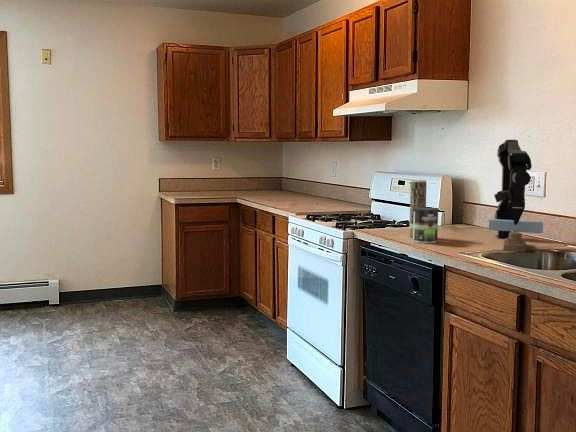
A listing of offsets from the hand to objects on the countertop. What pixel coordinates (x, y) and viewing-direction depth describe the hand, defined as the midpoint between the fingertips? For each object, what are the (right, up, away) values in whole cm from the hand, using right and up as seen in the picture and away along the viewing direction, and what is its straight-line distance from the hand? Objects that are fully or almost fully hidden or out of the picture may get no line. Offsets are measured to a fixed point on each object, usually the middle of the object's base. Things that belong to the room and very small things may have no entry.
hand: (515, 223), depth 251 cm
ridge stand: (0, -10, +1) cm, 10 cm away
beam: (0, -3, 0) cm, 3 cm away
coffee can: (-33, -8, +15) cm, 37 cm away
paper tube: (-34, -7, +27) cm, 44 cm away
